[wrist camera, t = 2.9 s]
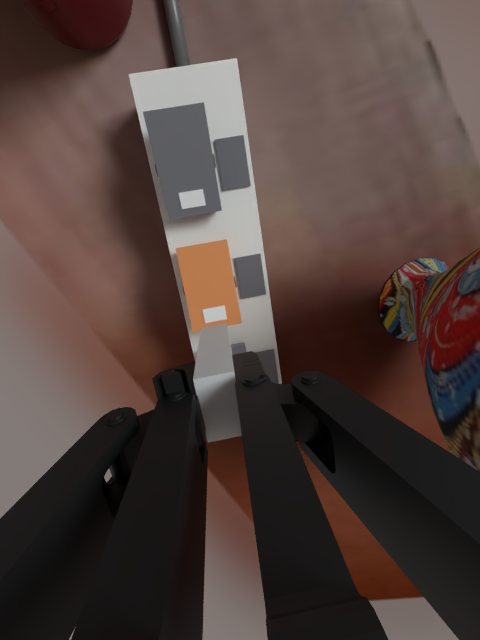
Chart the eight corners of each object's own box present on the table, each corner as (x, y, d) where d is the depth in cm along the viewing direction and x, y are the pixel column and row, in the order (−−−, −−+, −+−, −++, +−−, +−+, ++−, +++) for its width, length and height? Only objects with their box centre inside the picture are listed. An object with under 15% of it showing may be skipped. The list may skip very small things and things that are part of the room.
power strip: (95, -111, 18) (58, -222, 14) (201, -124, 19) (197, -236, 14) (213, 413, 30) (212, 443, 25) (278, 400, 30) (289, 427, 26)
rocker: (145, 116, 17) (140, 111, 16) (205, 107, 18) (205, 101, 16) (169, 218, 20) (167, 220, 19) (222, 209, 20) (223, 210, 19)
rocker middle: (176, 250, 21) (174, 248, 19) (227, 241, 21) (228, 238, 20) (193, 330, 21) (191, 332, 20) (242, 321, 22) (243, 323, 20)
